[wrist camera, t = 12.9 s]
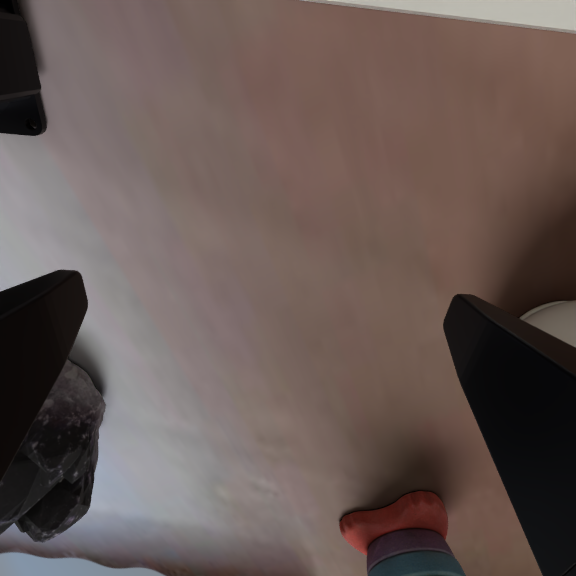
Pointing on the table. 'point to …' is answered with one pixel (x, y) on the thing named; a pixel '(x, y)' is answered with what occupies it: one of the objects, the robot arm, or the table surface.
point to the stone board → (482, 11)
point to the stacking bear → (404, 537)
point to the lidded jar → (555, 319)
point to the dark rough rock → (55, 460)
